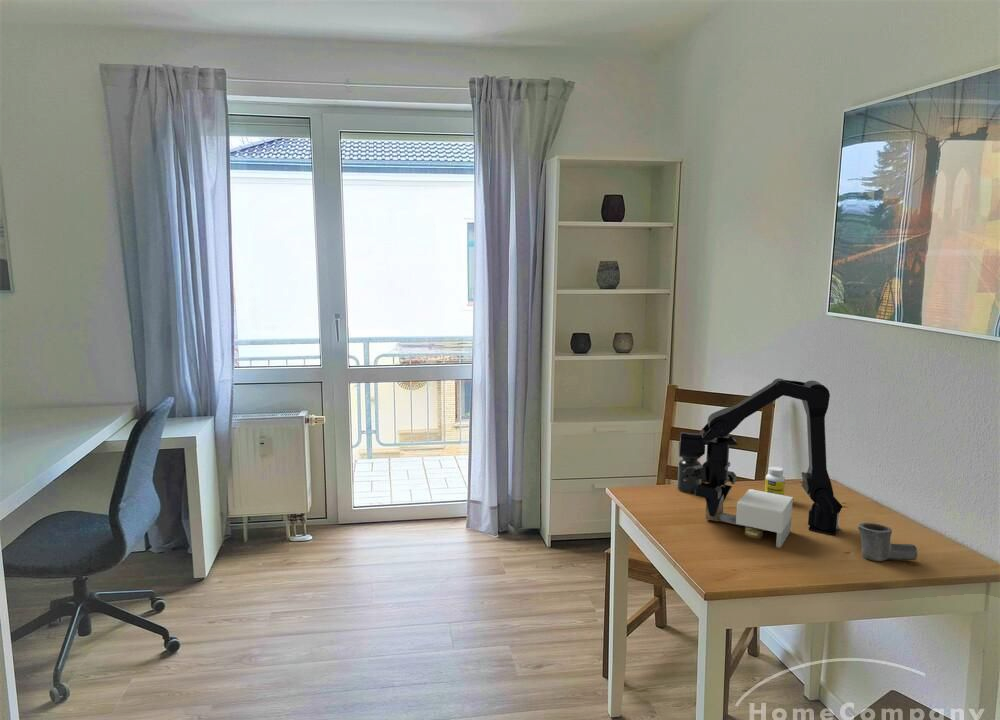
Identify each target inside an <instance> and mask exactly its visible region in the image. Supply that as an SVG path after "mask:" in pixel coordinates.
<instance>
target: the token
mask: <svg viewBox="0 0 1000 720" xmlns="http://www.w3.org/2000/svg"><path fill="white" fill-rule="evenodd" d="M763 534H764V531H763V529H759V528H754V527H749V526H746V527H745V526H744V535H745V536H746V537H748V538H750V539H761V537H762V538H763V537H764V536H763Z"/></svg>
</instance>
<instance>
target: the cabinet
mask: <svg viewBox="0 0 1000 720" xmlns="http://www.w3.org/2000/svg"><path fill="white" fill-rule="evenodd" d="M793 501H794V496H789V495H785V494H784V495H779V494H773V493H768V492H765V491H762V490H756V489H752V488H751V489H750V488H749V489H748V490H747V491H746V492H745V493H744V494H743V495H742V496H741V497H740V498H739V499H738V500H737V502H736V514H735V515H736V524H740V525H745V526H749V527H754V528H759V529H763V530H766V531H769V532H773V533H776V543H775V548H778V547H779V549H780V547H782V545H784V543H785V541H786V539H787V538H788V536H789V535H790V533H791V528H792V515H793ZM736 524H735V525H736ZM740 525H739V526H740ZM745 526H744V527H745Z"/></svg>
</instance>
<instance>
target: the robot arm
mask: <svg viewBox="0 0 1000 720" xmlns="http://www.w3.org/2000/svg"><path fill="white" fill-rule="evenodd" d="M783 396H785V397H790V398H794V399H797V400H801V402H802V405H803V408H804V412H805V414H806V425H807V446H808V447H807V449H808V451H807V454H808V468H807V471H806V472H805V471H802V472H801V477H802V482H801V487H802V488H803V490H804V491H805V493H806V494H807V495H808V497H809V499H811V501H812V502H813V503H812V505H811V508H810V509H809V510H808V519H807V520H808V522H807V525H808V526H809V527H808V530H809V531H814V532H818V533H822V534H829V535H834V536H836V535H837V533H838V531H839V529H840V526H839V517H840V512H841V511H842V509H843V505H842V504H841V503H840V501H839V500H838V499H837V498H836V496H835V494H834V490H833V484H832V481H831V479H830V475H829V472H828V469H827V468H828V467H827V447H826V446H827V445H826V444H827V443H826V442H827V441H826V424H825V423H826V420H825V419H826V414H827V412H828V410H829V409H828V408H829V405H830V398H831V394H830V390H829V388H827V387H826V386H825V385H823V384H822V383H821V382H819V381H817V380H808V381H805V382H803V381H798V380H789V379H784V378H775V379H774V380H773V381H772V382H770V383H768V384H767V385H766V386H764V387H763V388H762V389H759V390H758V391H756V392H754V393H753V394H751V395H750V396H747V397H746V398H744V399H743V400H741V401H740V402H738V403H737V404H735V405H731V406H729V407H725V408H722V409H720V410H716V411H715V412H713V413H711V414H709V416H708V419H707V423H706V424H705V425H704V427H703V428H701V430H699V433H696V432H695V433H694V432H686V431H680V437H679V441H678V457H679V458H682V457H691V458H699V459H700V458H701V457H703V455H705V452H706V461H705V462H703V463H702V464H701V465H698V466H692V467H687V468H686V469H685V470H684V475H683V476H684V477H685V478H686V479H687V481H688V482H690V481H692V480H697V479H701V482H700V484H699V485H698V486H697V487H696V488H695V492H694V493H693V494H694V496H696V497H700V498H704V499H705V502H707V506H708V510H709V514H710V516H713V517H714V516H715V513H716V511H717V509H718V507H719V505H720V502H721V500H722V498H723V496H724V502H725V500H726V499H727V496H728V495H729V494H730V492H731V490H732V488H733V486H732V485H734V484H736V483H737V474H736V473H735V472H734V471H730V470H729V467H731V462H729V458H730V455H729V454H730V446H737V445H738V442H737V440H736V438H734V437H733V436H732V434H731V433H732V432H733V431H734V430H735V429H737V427H738V426H739V425H740V424H741V423H742V422H743V421H744V420H745V419H747V417H750V416H751V415H754V414H755V413H756V412H758V411H760V410H762V409H763V408H765V407H766V406H768V405H769V404H772V403H773V402H774V401H776V400H777V399H779V398H781V397H783ZM706 445H707V446H706ZM729 481H730V483H731V485H728V482H729ZM724 502H723V504H725V503H724Z"/></svg>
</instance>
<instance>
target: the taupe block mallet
mask: <svg viewBox="0 0 1000 720" xmlns="http://www.w3.org/2000/svg"><path fill="white" fill-rule="evenodd" d="M705 502H706V501H705ZM723 502H725V501H724V496H723V498H722V500H721V502H720V505H719V507H718V509H717V511H716V513H715V516H714V517H713V516H710V514H709V510H708V506H707V502H706V504H705V520H707V521H709V520H710V521H714V522H722V523H723V522H724V523H728V524H731V525H737V526H741V527H744V528H745V527H746V526H745V525H740V524H736V514H730V513H727V512H724V503H723ZM766 531H767V530H763V532H766Z"/></svg>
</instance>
